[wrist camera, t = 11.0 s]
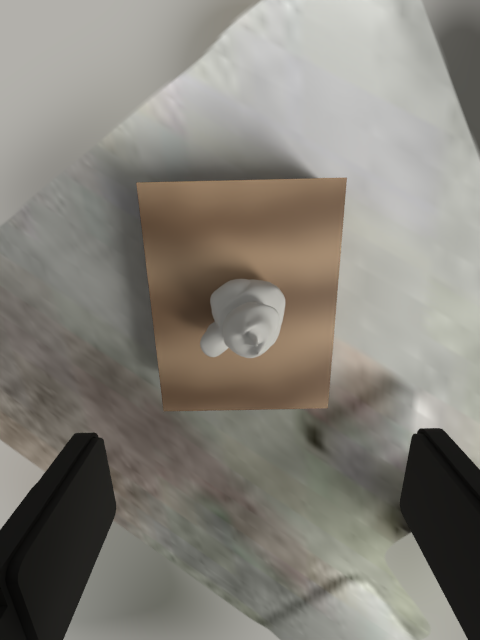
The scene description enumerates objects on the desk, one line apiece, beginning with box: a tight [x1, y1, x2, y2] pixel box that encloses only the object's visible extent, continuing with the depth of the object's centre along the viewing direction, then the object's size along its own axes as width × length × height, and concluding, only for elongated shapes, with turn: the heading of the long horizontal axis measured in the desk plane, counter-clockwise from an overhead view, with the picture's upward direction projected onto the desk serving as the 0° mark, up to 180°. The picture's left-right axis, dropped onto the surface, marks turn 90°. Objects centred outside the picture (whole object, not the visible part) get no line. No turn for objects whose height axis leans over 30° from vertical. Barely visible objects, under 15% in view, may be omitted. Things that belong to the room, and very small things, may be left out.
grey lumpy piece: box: [200, 279, 285, 358], centre depth 21 cm, size 5×7×8 cm
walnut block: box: [136, 178, 347, 411], centre depth 27 cm, size 18×14×6 cm
